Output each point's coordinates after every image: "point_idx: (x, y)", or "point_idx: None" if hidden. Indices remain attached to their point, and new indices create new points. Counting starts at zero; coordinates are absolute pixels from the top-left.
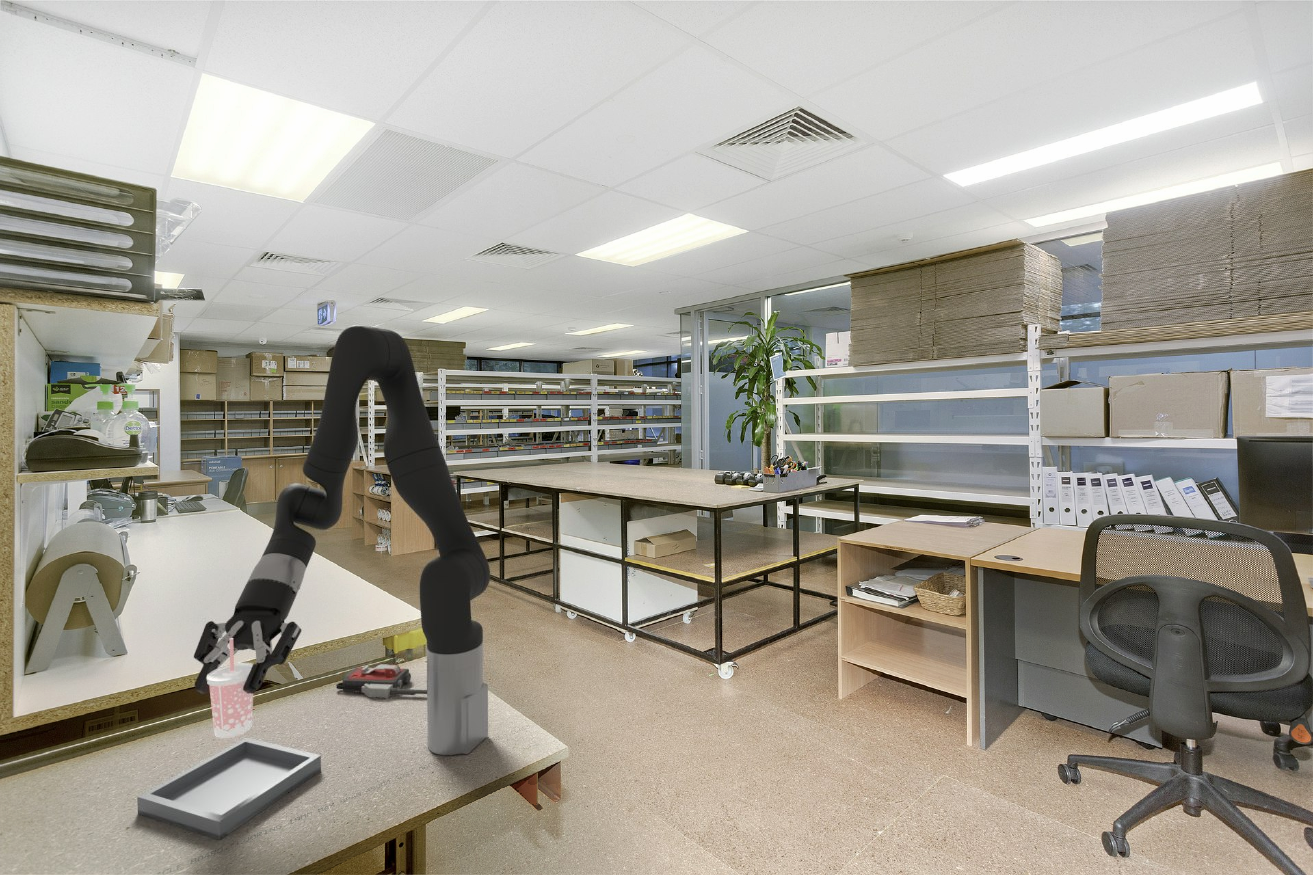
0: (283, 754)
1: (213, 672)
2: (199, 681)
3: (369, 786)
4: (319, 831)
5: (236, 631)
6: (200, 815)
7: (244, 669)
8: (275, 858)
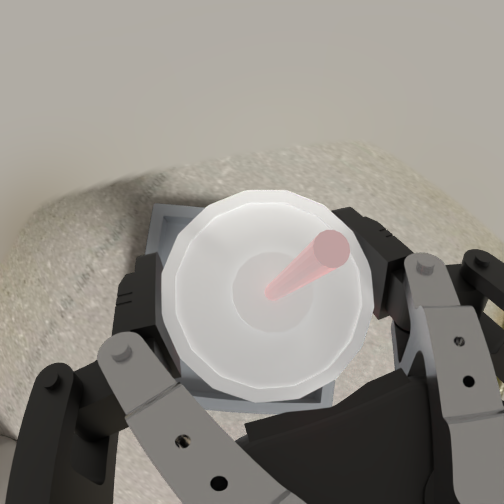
0: (215, 396)
1: (355, 265)
2: (356, 216)
3: (41, 360)
4: (45, 258)
5: (449, 424)
6: (196, 208)
7: (238, 337)
8: (67, 205)
